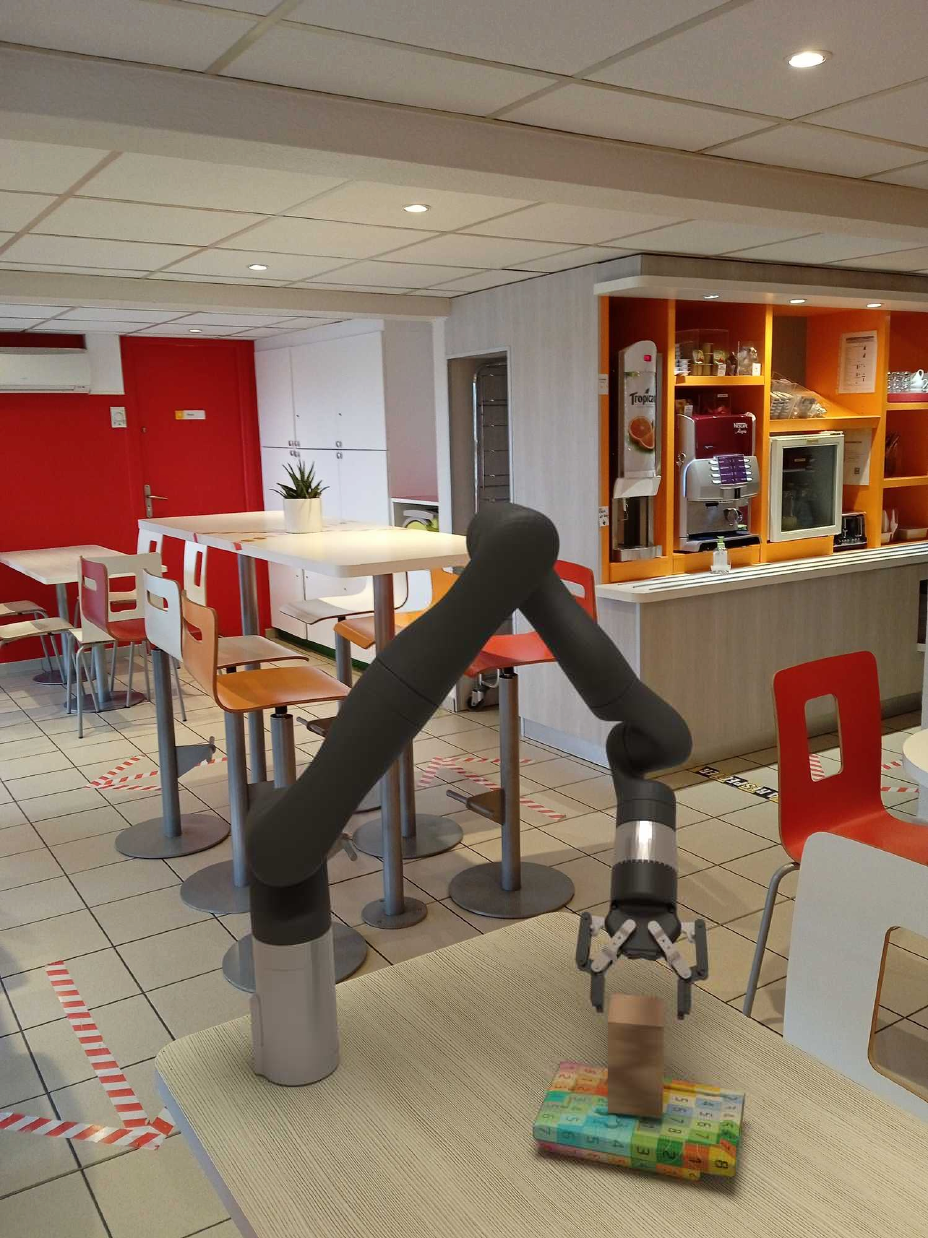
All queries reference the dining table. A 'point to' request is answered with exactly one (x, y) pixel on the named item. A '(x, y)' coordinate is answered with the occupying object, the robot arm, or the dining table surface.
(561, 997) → the dining table surface
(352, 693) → the robot arm
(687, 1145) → the puzzle game
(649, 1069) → the walnut block
